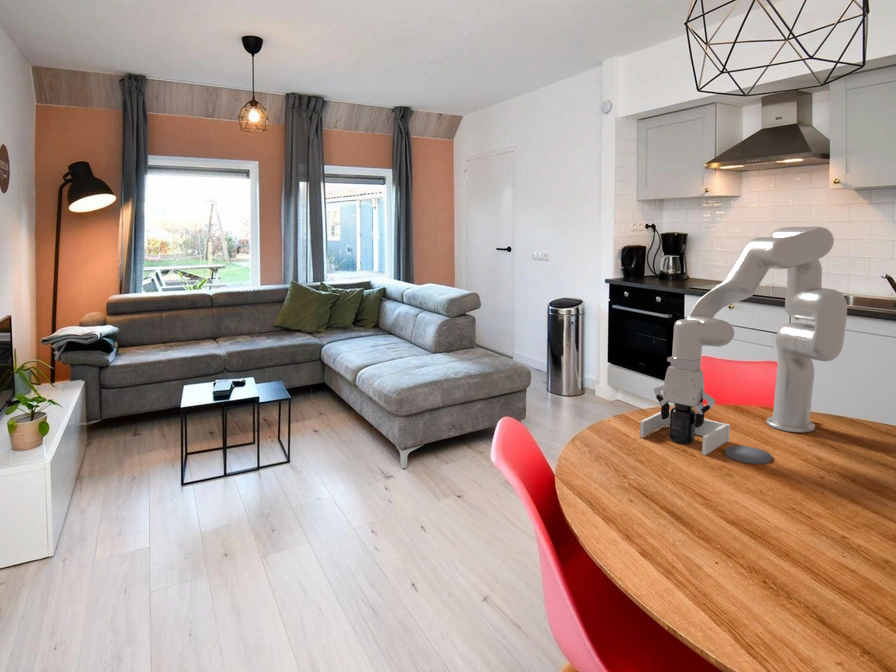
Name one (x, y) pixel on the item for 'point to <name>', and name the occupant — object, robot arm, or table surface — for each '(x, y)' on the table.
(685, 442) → the supplement bottle
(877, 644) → the table surface
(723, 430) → the white u-shaped bracket
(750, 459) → the mat
